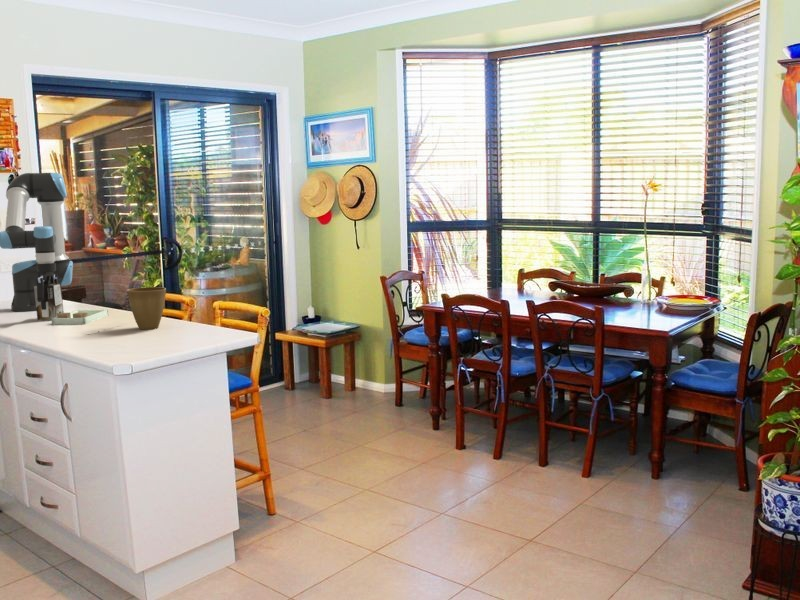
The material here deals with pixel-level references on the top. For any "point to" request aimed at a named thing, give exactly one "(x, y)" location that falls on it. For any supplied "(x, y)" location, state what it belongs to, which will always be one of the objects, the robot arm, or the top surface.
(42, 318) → the coffee box
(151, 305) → the plant pot
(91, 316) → the tray
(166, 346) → the top surface
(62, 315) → the walnut block
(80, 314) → the walnut block
